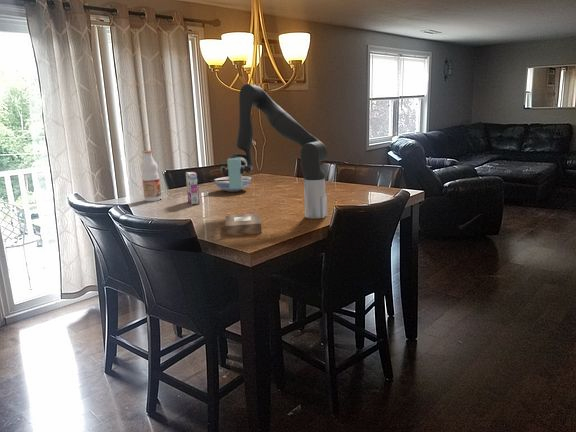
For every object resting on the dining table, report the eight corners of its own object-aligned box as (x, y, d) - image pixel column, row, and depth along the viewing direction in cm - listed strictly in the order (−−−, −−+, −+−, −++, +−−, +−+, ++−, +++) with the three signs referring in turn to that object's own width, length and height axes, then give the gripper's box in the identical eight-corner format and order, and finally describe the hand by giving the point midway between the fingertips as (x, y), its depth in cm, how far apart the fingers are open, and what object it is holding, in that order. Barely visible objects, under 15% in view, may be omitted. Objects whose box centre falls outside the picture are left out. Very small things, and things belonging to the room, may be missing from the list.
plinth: (258, 221, 195) (257, 212, 194) (261, 233, 178) (261, 222, 177) (226, 224, 194) (225, 215, 193) (226, 235, 176) (225, 225, 175)
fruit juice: (142, 200, 256) (136, 151, 250) (158, 197, 261) (153, 149, 255) (147, 202, 249) (141, 152, 242) (164, 200, 254) (158, 150, 247)
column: (242, 186, 188) (240, 157, 185) (241, 188, 183) (239, 159, 180) (230, 186, 188) (228, 158, 185) (229, 188, 183) (227, 159, 180)
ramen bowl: (255, 186, 282) (255, 174, 280) (251, 193, 260) (250, 180, 258) (216, 188, 283) (215, 175, 281) (209, 195, 261) (208, 181, 259)
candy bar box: (200, 204, 238) (197, 173, 234) (191, 205, 236) (187, 174, 232) (196, 200, 248) (194, 171, 244) (187, 201, 246) (184, 172, 243)
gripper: (221, 158, 197) (216, 163, 180) (253, 157, 197) (251, 161, 180) (222, 175, 199) (217, 181, 182) (254, 173, 199) (252, 180, 182)
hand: (234, 171), depth 181 cm, fingers closed on column, 5 cm apart
